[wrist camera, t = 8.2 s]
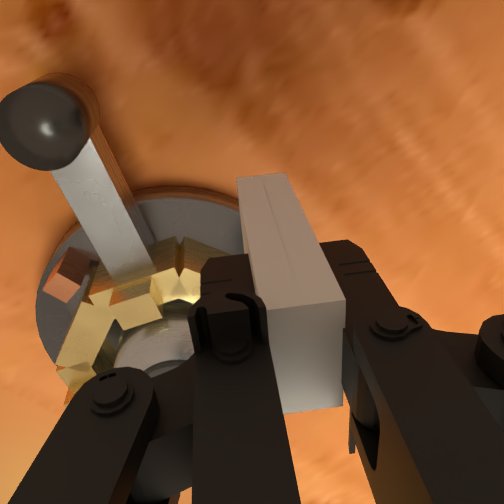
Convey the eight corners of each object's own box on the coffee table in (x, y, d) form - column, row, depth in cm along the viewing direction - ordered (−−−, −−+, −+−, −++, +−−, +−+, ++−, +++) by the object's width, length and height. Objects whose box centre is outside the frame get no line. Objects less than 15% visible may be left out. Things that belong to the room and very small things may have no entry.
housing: (160, 125, 21) (149, 181, 15) (347, 289, 28) (398, 378, 21) (-7, 316, 25) (-75, 427, 19) (190, 420, 32) (192, 529, 25)
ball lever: (-78, 117, 17) (-147, 148, 14) (176, 29, 17) (173, 36, 13) (128, 415, 27) (120, 478, 24) (292, 363, 27) (309, 419, 23)
